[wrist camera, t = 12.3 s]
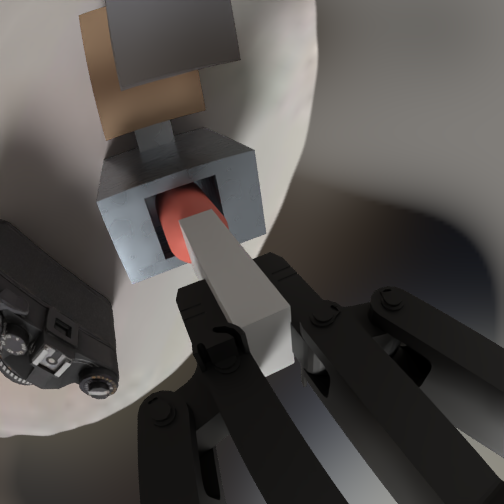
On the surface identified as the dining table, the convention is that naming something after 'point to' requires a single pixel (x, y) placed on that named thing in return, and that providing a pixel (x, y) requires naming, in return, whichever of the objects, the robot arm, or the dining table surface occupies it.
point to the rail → (171, 176)
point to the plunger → (182, 214)
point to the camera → (52, 322)
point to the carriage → (154, 58)
